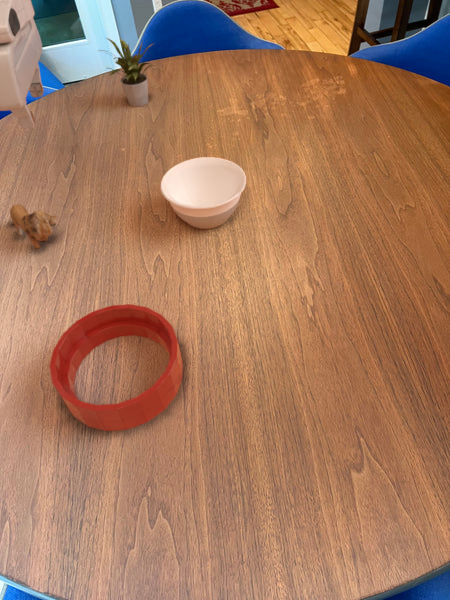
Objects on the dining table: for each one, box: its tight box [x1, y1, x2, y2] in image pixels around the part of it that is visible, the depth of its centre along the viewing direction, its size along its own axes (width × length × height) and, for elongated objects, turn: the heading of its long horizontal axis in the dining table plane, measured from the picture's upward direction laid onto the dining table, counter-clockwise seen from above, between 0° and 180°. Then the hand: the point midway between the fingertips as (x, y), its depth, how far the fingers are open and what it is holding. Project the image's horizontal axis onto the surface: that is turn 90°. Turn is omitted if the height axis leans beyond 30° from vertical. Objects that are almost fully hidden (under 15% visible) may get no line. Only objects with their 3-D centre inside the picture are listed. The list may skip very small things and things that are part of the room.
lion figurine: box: [9, 204, 58, 250], centre depth 90 cm, size 15×5×9 cm, turn 54°
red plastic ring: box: [49, 303, 184, 432], centre depth 69 cm, size 18×18×6 cm
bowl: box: [160, 156, 247, 230], centre depth 91 cm, size 16×16×9 cm
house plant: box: [98, 37, 155, 108], centre depth 123 cm, size 14×14×16 cm
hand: (34, 110), depth 71 cm, fingers open, 8 cm apart
